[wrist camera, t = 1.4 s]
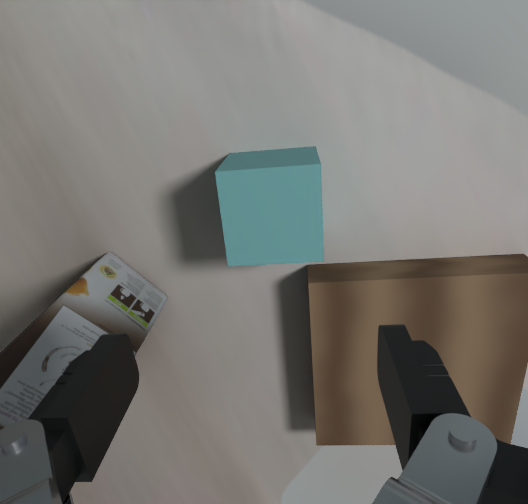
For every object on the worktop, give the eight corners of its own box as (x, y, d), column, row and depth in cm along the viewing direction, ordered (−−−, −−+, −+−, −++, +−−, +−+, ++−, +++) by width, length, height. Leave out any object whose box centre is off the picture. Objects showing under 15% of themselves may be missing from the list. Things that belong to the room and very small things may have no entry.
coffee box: (107, 247, 32) (-50, 393, 17) (170, 297, 34) (74, 471, 19) (49, 315, 35) (-127, 488, 20) (108, 358, 37) (-15, 548, 22)
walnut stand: (315, 418, 38) (316, 445, 35) (306, 264, 31) (308, 283, 29) (493, 415, 36) (510, 443, 33) (523, 253, 30) (546, 272, 27)
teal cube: (239, 232, 31) (227, 266, 25) (230, 152, 28) (214, 171, 23) (318, 227, 30) (323, 261, 25) (315, 146, 28) (320, 163, 22)
